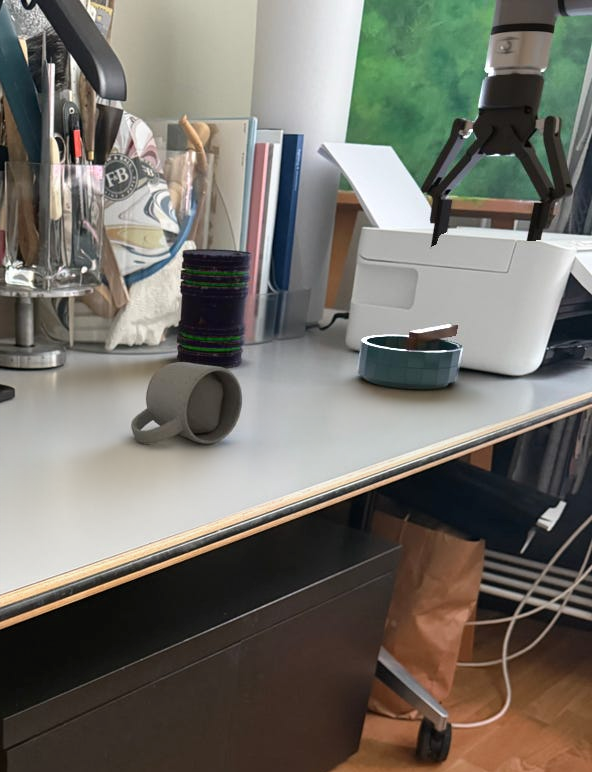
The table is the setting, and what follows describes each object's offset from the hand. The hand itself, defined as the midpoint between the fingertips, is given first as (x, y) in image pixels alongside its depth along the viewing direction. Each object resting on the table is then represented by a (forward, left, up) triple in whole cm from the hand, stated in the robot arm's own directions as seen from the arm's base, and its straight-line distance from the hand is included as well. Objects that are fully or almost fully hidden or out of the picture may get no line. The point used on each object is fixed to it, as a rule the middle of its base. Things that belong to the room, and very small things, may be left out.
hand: (482, 252), depth 130 cm
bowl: (+5, +13, -16) cm, 21 cm away
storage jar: (+33, +16, -16) cm, 40 cm away
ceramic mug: (+19, +58, -16) cm, 63 cm away
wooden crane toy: (+3, +7, -15) cm, 17 cm away
